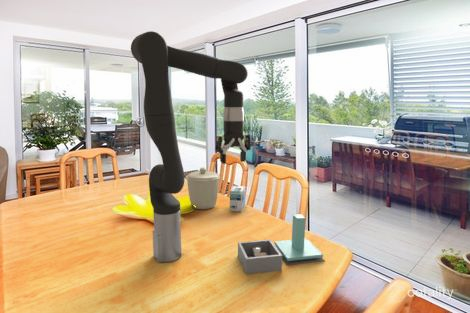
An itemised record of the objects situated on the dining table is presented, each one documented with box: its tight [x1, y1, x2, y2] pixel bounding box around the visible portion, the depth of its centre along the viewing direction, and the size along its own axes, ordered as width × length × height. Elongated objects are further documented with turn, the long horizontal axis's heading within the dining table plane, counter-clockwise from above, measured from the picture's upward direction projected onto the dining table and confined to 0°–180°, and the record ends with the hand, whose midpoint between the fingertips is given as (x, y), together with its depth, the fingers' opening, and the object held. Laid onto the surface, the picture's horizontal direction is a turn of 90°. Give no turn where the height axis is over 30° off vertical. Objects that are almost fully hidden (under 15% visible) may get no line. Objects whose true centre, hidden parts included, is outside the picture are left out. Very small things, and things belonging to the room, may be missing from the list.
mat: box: [276, 247, 326, 266], centre depth 112 cm, size 14×14×1 cm
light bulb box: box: [229, 185, 247, 213], centre depth 160 cm, size 11×7×11 cm, turn 168°
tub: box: [237, 239, 283, 275], centre depth 104 cm, size 12×12×6 cm
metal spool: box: [252, 246, 261, 257], centre depth 107 cm, size 3×3×4 cm
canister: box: [185, 167, 221, 210], centre depth 161 cm, size 18×18×21 cm
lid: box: [273, 213, 324, 261], centre depth 110 cm, size 13×13×14 cm
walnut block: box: [254, 253, 267, 257], centre depth 102 cm, size 4×4×4 cm
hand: (233, 162), depth 117 cm, fingers open, 8 cm apart
